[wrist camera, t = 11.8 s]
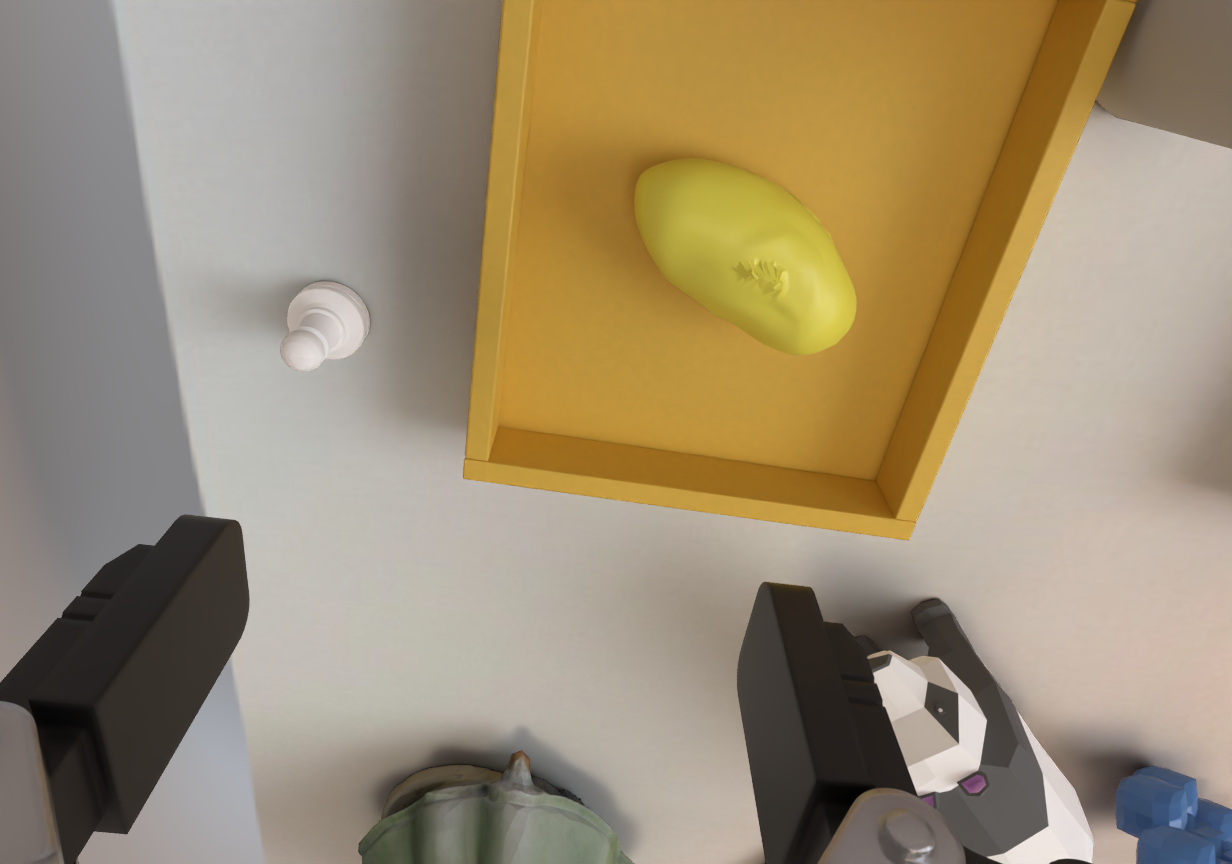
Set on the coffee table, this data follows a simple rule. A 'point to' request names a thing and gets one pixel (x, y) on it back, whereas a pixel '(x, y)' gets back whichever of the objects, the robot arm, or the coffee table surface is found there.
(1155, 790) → the grapes
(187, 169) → the coffee table surface
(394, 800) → the figurine
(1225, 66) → the beverage can
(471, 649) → the coffee table surface
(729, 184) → the yellow oblong lump
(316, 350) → the chess pawn
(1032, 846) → the giant panda
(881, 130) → the yellow tray
